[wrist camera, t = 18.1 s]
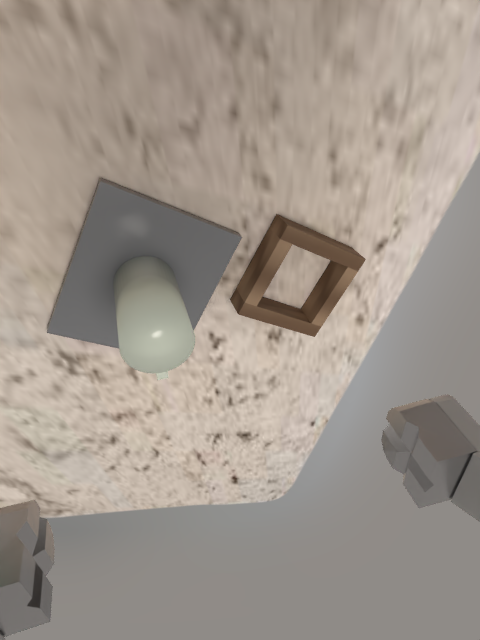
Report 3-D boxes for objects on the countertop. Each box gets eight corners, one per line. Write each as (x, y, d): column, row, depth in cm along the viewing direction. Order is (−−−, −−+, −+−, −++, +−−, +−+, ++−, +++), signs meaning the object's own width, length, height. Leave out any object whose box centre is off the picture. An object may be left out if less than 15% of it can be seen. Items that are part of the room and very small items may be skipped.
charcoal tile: (100, 177, 37) (100, 181, 36) (239, 233, 44) (241, 237, 43) (47, 327, 44) (46, 332, 43) (176, 355, 50) (177, 361, 49)
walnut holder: (276, 214, 44) (287, 225, 42) (351, 247, 49) (365, 259, 47) (230, 299, 48) (238, 314, 46) (304, 322, 53) (314, 336, 51)
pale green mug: (107, 260, 41) (112, 319, 33) (172, 251, 42) (191, 306, 34) (123, 334, 45) (131, 401, 37) (180, 324, 47) (199, 386, 39)
